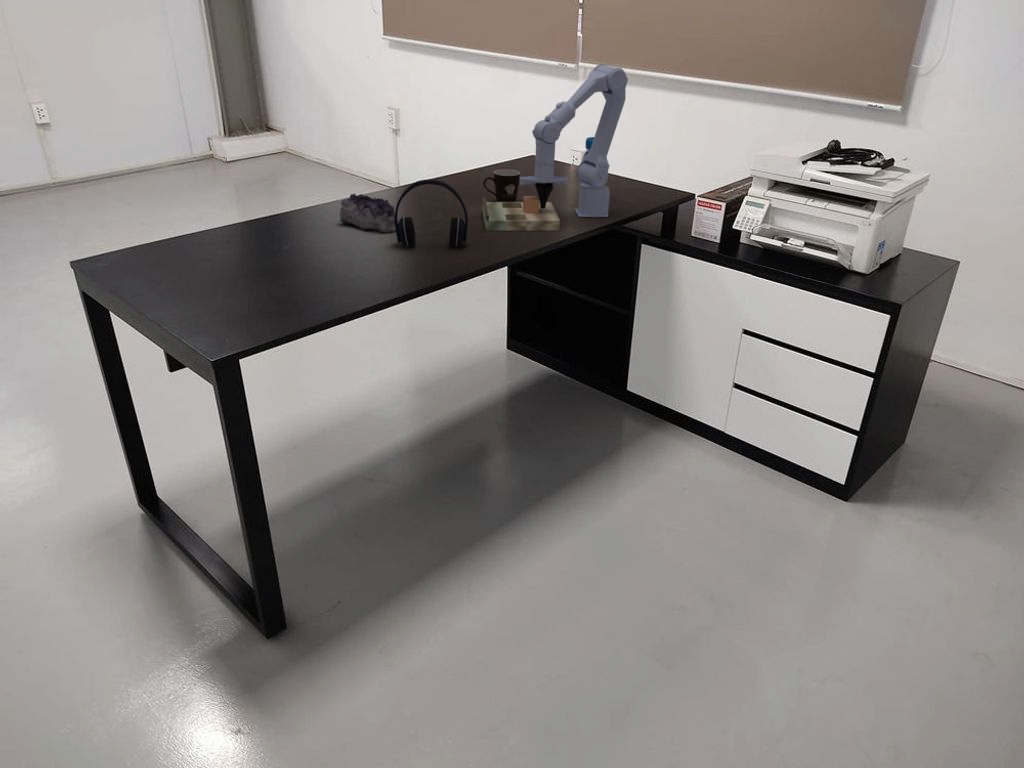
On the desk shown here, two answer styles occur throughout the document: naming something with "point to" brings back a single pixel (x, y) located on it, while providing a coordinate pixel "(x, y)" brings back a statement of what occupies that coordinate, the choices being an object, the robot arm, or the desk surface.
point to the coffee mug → (505, 185)
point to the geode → (368, 213)
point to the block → (530, 204)
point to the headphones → (406, 226)
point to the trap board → (518, 217)
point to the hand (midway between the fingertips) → (542, 207)
